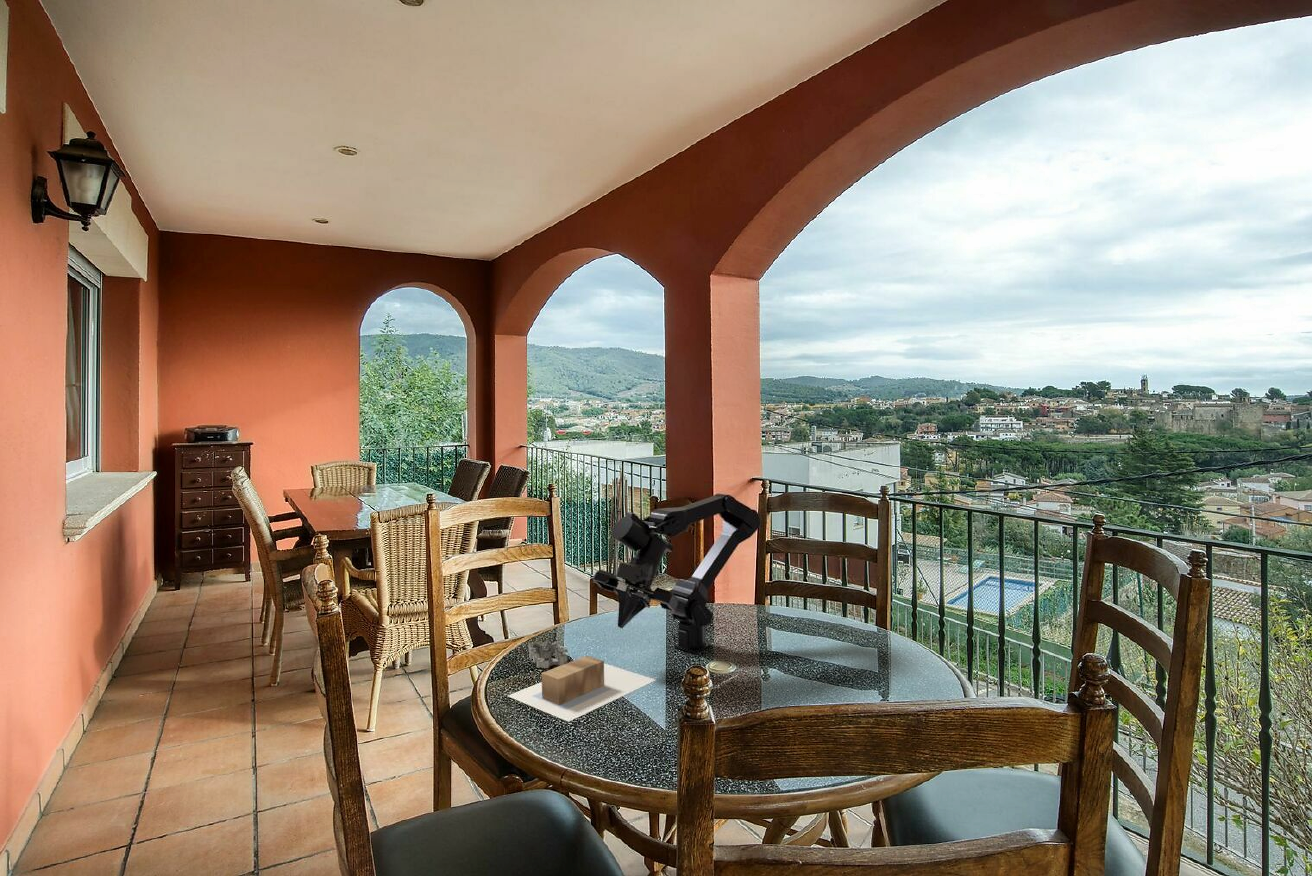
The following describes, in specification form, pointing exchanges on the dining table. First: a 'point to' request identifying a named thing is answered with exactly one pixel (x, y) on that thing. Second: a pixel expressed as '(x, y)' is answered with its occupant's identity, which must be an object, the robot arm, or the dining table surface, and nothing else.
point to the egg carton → (547, 654)
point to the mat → (614, 688)
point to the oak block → (572, 680)
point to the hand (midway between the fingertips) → (619, 627)
